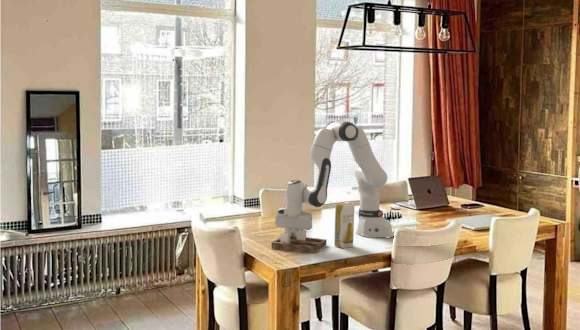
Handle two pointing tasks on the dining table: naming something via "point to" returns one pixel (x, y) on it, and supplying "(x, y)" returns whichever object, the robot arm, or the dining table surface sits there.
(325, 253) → the dining table surface
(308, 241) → the switch board
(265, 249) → the dining table surface
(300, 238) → the tab
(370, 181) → the robot arm
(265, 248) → the dining table surface
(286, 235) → the tab
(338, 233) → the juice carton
